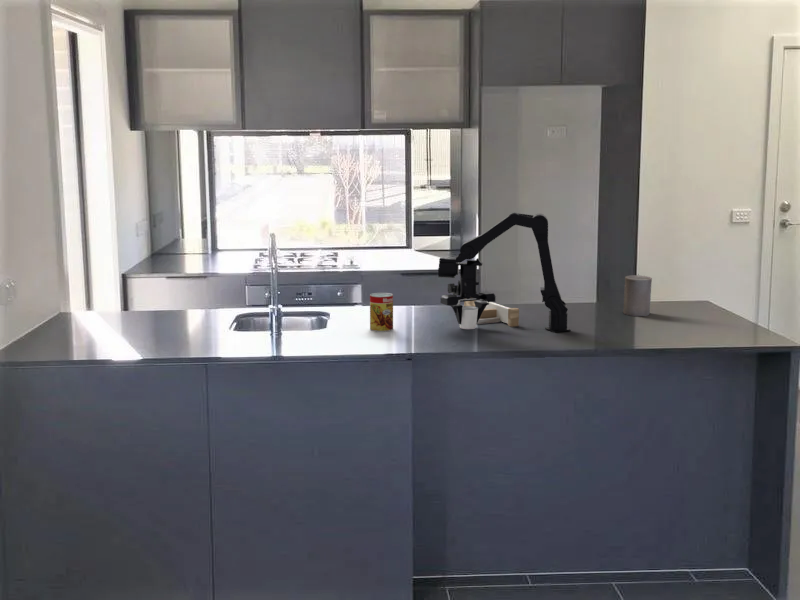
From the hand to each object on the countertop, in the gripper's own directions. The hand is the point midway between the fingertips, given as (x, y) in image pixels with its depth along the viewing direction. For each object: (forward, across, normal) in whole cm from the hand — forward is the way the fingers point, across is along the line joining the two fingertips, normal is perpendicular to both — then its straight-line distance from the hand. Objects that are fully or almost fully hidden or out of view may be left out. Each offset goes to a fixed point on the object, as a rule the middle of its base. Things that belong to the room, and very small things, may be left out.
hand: (468, 323), depth 324 cm
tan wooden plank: (+2, -12, -13) cm, 17 cm away
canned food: (+2, +28, -10) cm, 30 cm away
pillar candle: (+2, -69, +3) cm, 69 cm away
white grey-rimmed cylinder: (+2, 0, 0) cm, 2 cm away
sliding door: (+1, -12, -7) cm, 14 cm away
